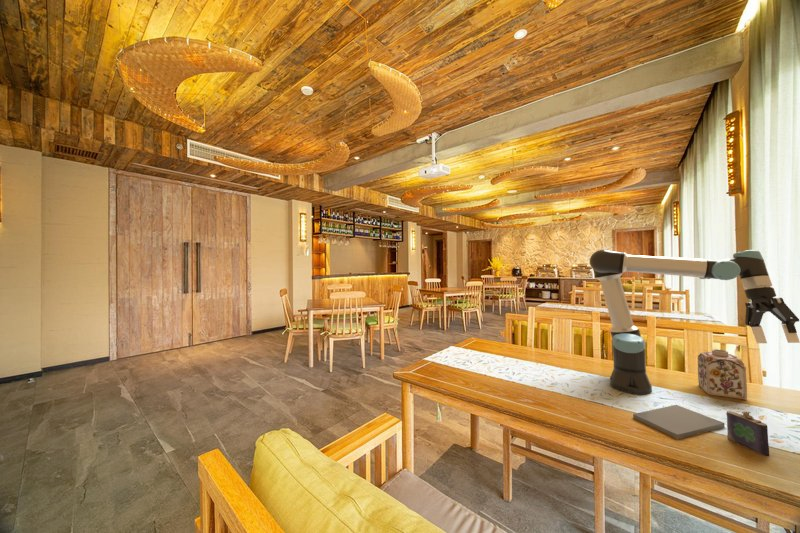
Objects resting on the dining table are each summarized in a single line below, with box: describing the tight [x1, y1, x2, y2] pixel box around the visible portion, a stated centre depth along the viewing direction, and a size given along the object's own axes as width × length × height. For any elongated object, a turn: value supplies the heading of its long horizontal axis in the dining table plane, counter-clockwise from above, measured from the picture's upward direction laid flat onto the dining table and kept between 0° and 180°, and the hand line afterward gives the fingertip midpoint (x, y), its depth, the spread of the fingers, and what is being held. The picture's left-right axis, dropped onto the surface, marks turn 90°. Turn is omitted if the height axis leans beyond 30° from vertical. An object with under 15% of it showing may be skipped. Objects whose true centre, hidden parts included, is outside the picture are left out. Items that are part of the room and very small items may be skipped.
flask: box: [725, 410, 770, 457], centre depth 89 cm, size 9×3×11 cm, turn 8°
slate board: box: [632, 404, 725, 440], centre depth 103 cm, size 14×22×2 cm, turn 105°
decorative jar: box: [697, 348, 748, 401], centre depth 125 cm, size 12×12×18 cm
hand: (777, 343), depth 111 cm, fingers open, 13 cm apart
